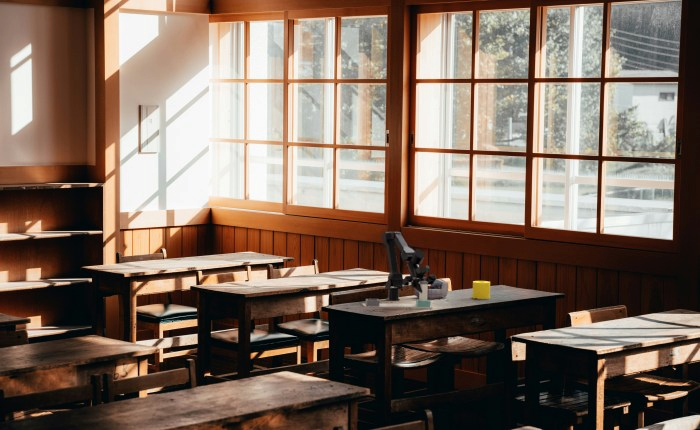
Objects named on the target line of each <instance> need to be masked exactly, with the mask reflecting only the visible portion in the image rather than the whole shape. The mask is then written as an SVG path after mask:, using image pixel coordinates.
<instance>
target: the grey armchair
mask: <svg viewBox="0 0 700 430" xmlns="http://www.w3.org/2000/svg"><path fill="white" fill-rule="evenodd" d="M413 289H414V293H415V295H414V296H415V297H417V298H419V291H418V290H416V289H415V288H413ZM448 292H449V282H448V281H443V280H441V279H437V278H436V280H435V282H434V283H433V284H432V285H428V293H427V300H434V299H441V298H443V297H444V298H445V297H447V296H448Z"/></svg>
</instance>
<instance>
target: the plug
mask: <svg viewBox="0 0 700 430" xmlns="http://www.w3.org/2000/svg"><path fill="white" fill-rule="evenodd" d="M419 284H420V287H421V289H422V293H420V292H419V297H418V300H419V301H427V300H428V299H427V292H428V286H429V285H428V281H420V282H419Z"/></svg>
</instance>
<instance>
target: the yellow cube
mask: <svg viewBox="0 0 700 430" xmlns="http://www.w3.org/2000/svg"><path fill="white" fill-rule="evenodd" d="M472 298H473V299H475V298H477V299H476V300H489V299H491V281H486V280H474V281H472Z"/></svg>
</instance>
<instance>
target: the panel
mask: <svg viewBox="0 0 700 430" xmlns="http://www.w3.org/2000/svg"><path fill="white" fill-rule="evenodd" d="M362 305H363V307H365V308H366V307H369V308H371V307H372V308H373V307H374V308H375V307H376V308H377V307H378V308H380V307H381V308H387V307H389V308H406V310H415V309H416V310H419V309H420V310H432V309H433V306H432V305H431V301H430V299H427V301H419V299H416V300H415V303H381V302H380V299H379V298H365V303H363V302H362Z"/></svg>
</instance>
